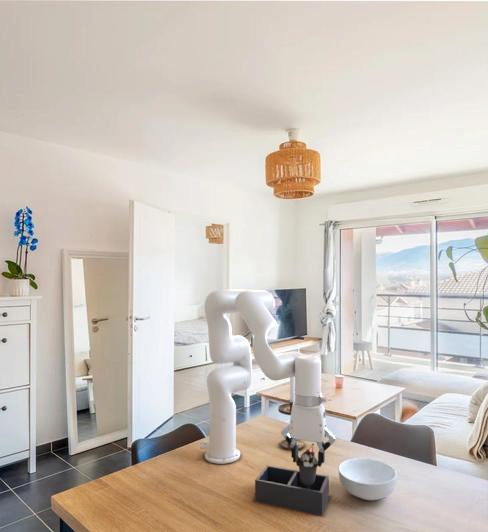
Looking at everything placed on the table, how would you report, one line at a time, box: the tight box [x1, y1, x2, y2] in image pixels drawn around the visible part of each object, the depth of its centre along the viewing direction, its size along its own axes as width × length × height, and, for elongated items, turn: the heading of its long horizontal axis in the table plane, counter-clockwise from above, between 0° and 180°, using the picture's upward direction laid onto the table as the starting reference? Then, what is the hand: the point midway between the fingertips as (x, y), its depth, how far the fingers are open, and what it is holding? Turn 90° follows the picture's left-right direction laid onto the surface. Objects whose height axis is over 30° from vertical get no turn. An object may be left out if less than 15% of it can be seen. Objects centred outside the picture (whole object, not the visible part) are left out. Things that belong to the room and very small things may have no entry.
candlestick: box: [277, 377, 305, 452], centre depth 154 cm, size 11×11×35 cm
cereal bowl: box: [338, 457, 398, 501], centre depth 120 cm, size 17×17×7 cm
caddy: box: [254, 464, 330, 517], centre depth 116 cm, size 10×19×6 cm, turn 69°
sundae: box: [295, 443, 319, 489], centre depth 115 cm, size 7×7×15 cm
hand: (307, 462), depth 115 cm, fingers closed on sundae, 6 cm apart
